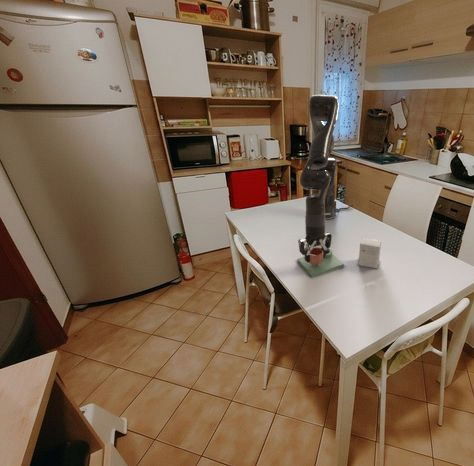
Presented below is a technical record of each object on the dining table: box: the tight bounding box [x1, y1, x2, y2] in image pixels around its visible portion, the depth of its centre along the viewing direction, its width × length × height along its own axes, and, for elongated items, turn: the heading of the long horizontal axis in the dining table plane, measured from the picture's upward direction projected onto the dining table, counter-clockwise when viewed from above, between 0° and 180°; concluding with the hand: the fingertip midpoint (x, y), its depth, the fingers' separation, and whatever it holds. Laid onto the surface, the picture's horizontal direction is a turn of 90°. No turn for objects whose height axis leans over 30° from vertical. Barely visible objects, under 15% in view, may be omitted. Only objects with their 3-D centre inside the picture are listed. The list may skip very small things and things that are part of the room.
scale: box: [297, 248, 345, 278], centre depth 110 cm, size 15×13×3 cm
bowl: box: [309, 246, 323, 265], centre depth 106 cm, size 6×6×4 cm
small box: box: [358, 237, 382, 269], centre depth 109 cm, size 8×6×10 cm
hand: (315, 259), depth 107 cm, fingers closed on bowl, 6 cm apart
